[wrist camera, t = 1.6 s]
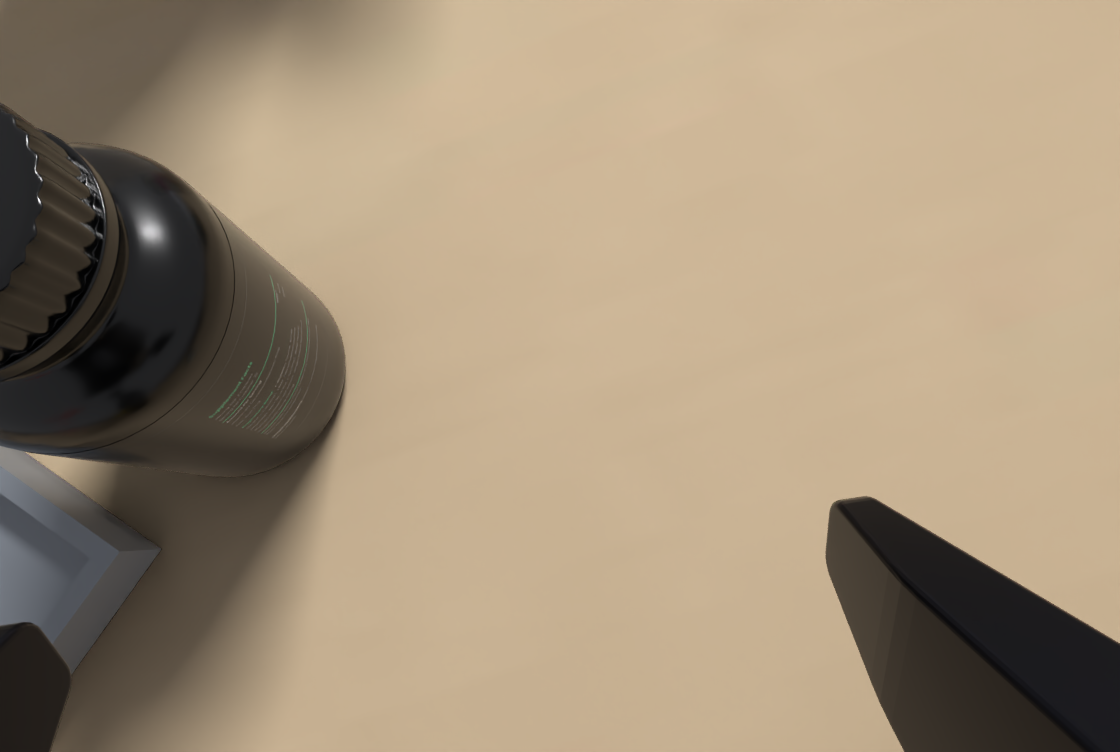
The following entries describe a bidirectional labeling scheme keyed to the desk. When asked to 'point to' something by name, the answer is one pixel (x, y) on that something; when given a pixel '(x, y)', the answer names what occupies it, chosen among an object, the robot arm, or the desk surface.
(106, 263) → the supplement bottle
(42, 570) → the tray
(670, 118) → the desk surface
